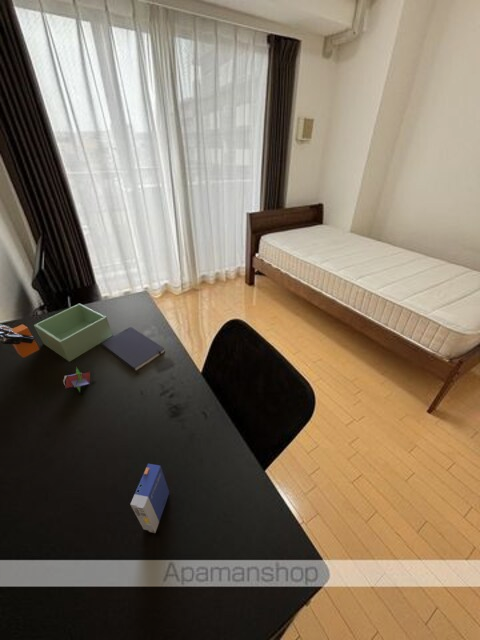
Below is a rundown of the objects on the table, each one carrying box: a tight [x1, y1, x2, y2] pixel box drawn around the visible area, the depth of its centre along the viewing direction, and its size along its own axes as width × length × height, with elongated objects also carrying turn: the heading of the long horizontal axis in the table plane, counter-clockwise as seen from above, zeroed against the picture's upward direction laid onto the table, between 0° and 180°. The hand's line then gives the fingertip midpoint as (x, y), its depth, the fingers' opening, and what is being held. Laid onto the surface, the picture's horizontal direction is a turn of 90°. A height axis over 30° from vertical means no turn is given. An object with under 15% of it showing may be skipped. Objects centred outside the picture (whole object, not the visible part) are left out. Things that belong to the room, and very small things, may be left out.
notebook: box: [100, 326, 166, 372], centre depth 103 cm, size 13×2×21 cm
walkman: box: [130, 463, 170, 534], centre depth 57 cm, size 8×3×12 cm, turn 170°
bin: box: [33, 303, 114, 362], centre depth 106 cm, size 18×18×9 cm
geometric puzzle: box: [62, 366, 91, 393], centre depth 87 cm, size 7×7×8 cm
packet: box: [8, 323, 40, 359], centre depth 90 cm, size 4×5×9 cm
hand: (29, 337), depth 92 cm, fingers closed on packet, 3 cm apart
